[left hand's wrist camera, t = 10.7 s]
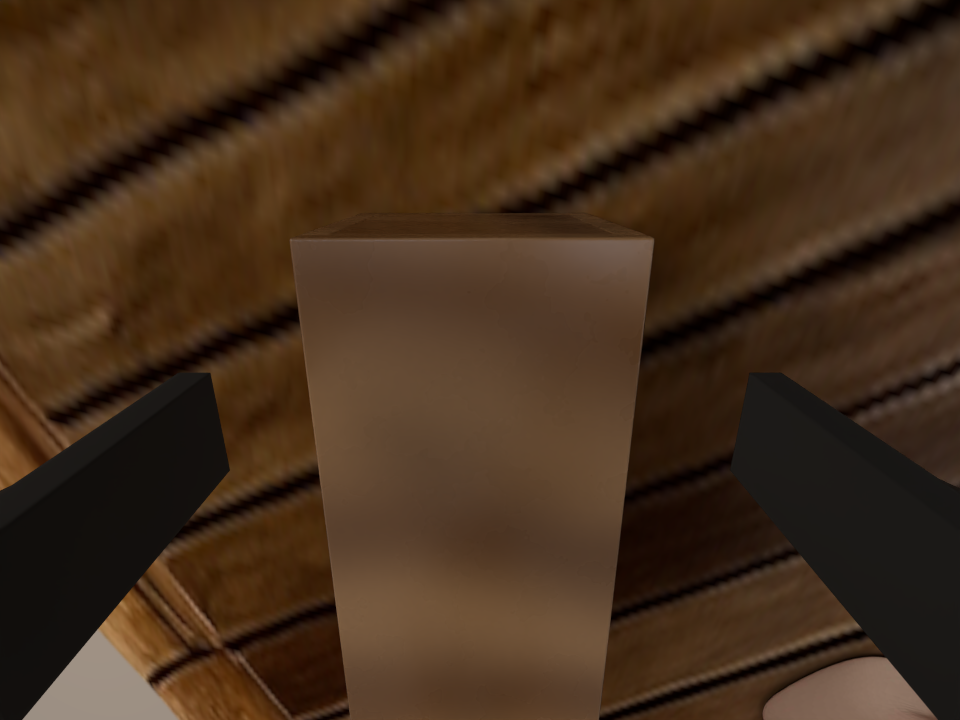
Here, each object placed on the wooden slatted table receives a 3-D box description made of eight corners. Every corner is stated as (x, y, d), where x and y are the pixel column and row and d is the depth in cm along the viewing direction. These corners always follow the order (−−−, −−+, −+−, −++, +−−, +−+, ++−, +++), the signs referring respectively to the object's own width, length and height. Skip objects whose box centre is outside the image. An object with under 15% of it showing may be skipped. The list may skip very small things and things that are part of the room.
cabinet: (561, 583, 31) (596, 750, 22) (389, 584, 31) (354, 753, 22) (586, 213, 23) (655, 237, 14) (359, 213, 23) (288, 238, 14)
